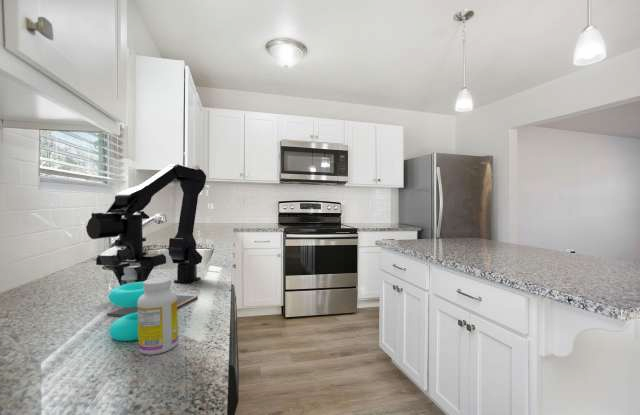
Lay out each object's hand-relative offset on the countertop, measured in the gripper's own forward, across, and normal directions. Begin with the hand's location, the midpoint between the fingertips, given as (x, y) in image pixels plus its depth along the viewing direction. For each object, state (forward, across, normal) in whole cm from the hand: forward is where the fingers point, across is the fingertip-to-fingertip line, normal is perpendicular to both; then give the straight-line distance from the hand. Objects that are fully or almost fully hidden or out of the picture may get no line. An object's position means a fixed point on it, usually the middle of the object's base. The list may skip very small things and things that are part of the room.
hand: (132, 289), depth 88 cm
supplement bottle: (+3, +29, -25) cm, 38 cm away
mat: (+2, +12, -5) cm, 13 cm away
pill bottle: (+3, 0, 0) cm, 3 cm away
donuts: (+3, +20, -20) cm, 28 cm away
